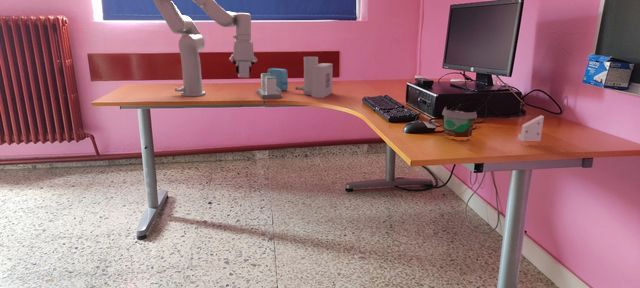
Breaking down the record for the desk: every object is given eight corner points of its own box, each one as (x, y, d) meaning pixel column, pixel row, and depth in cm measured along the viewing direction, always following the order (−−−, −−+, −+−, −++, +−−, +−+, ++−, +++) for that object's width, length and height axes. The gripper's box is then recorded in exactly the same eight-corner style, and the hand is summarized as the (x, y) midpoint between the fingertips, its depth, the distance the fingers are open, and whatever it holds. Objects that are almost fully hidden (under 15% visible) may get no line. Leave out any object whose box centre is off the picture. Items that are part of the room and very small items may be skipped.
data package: (287, 90, 249) (287, 69, 246) (282, 91, 246) (281, 70, 243) (273, 88, 257) (273, 67, 254) (268, 89, 254) (267, 68, 250)
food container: (433, 136, 154) (435, 109, 152) (442, 133, 159) (445, 106, 156) (465, 143, 146) (468, 114, 143) (474, 140, 150) (477, 111, 147)
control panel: (323, 98, 227) (323, 59, 221) (290, 95, 232) (289, 57, 227) (332, 93, 241) (333, 56, 236) (301, 91, 247) (301, 55, 242)
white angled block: (553, 138, 143) (543, 116, 141) (525, 153, 144) (515, 131, 142) (547, 135, 147) (538, 113, 145) (520, 150, 148) (510, 128, 146)
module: (239, 77, 224) (239, 60, 222) (237, 75, 232) (237, 59, 229) (249, 77, 226) (249, 60, 223) (247, 75, 233) (247, 59, 231)
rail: (262, 98, 224) (261, 78, 221) (256, 92, 242) (256, 73, 239) (281, 97, 227) (281, 77, 224) (274, 91, 245) (274, 72, 242)
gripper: (227, 37, 217) (227, 74, 222) (261, 39, 222) (260, 75, 227) (225, 37, 224) (226, 72, 229) (259, 38, 229) (258, 73, 234)
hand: (243, 73), depth 228 cm, fingers closed on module, 5 cm apart
